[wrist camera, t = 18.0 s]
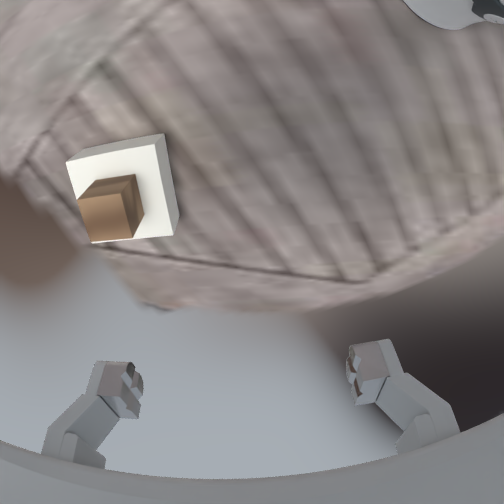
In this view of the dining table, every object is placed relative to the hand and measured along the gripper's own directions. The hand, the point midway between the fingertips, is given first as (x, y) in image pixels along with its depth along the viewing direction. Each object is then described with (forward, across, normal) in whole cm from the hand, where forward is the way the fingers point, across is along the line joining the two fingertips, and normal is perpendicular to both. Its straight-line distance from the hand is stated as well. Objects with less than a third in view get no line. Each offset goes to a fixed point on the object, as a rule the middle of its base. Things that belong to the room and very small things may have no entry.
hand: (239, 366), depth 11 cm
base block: (+30, +14, +3) cm, 33 cm away
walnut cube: (+24, +14, +3) cm, 28 cm away
